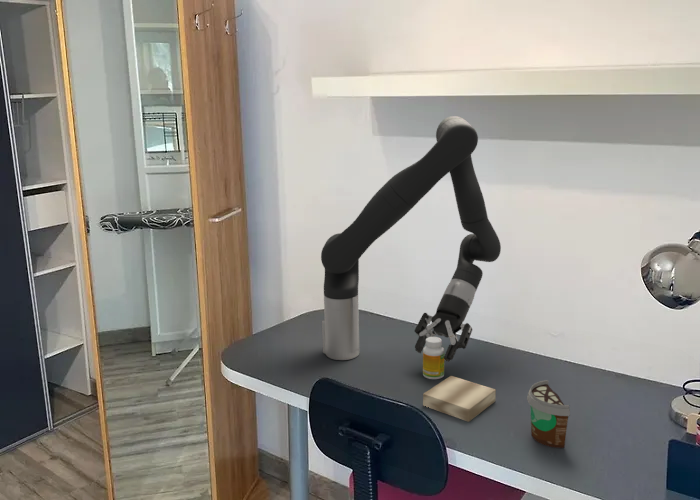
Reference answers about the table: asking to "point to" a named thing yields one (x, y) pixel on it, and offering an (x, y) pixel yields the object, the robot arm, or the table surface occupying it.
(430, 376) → the supplement bottle
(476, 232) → the robot arm
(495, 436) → the table surface
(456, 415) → the base block
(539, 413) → the food container
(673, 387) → the table surface
